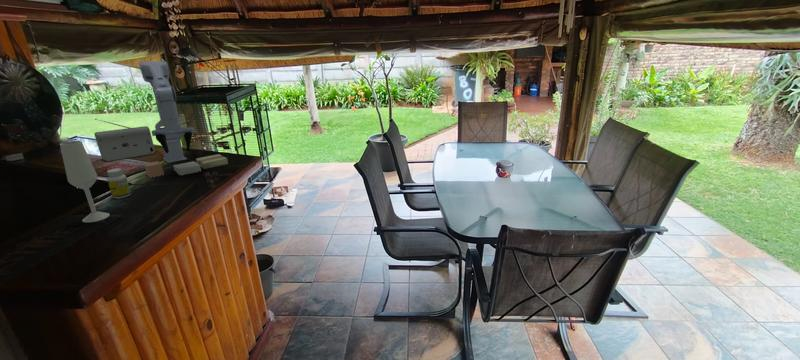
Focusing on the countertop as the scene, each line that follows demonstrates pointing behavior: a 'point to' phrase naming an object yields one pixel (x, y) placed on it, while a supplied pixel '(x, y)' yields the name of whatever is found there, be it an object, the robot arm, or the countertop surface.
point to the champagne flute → (81, 174)
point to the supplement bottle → (118, 183)
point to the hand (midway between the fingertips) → (178, 151)
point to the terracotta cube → (154, 169)
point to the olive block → (211, 161)
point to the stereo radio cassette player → (124, 142)
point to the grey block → (187, 168)
